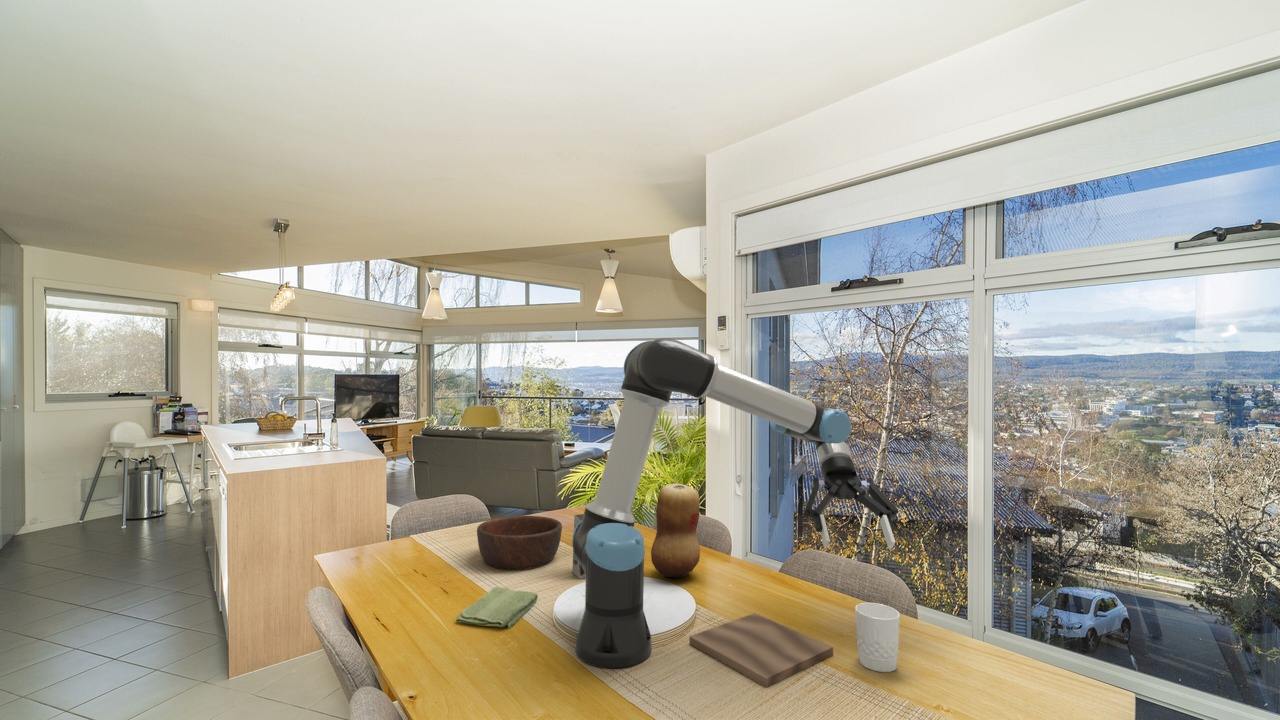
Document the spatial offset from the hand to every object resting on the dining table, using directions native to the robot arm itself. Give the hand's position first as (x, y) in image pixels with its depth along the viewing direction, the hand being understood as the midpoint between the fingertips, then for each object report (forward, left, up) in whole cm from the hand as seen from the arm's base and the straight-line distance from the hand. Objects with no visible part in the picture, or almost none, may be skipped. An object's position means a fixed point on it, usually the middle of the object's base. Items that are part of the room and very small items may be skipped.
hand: (859, 545), depth 117 cm
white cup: (-7, -8, -20) cm, 22 cm away
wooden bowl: (-36, +89, -20) cm, 98 cm away
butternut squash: (-7, +51, -19) cm, 55 cm away
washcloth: (-56, +56, -20) cm, 82 cm away
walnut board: (-21, +9, -19) cm, 30 cm away
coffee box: (-25, +66, -20) cm, 73 cm away
